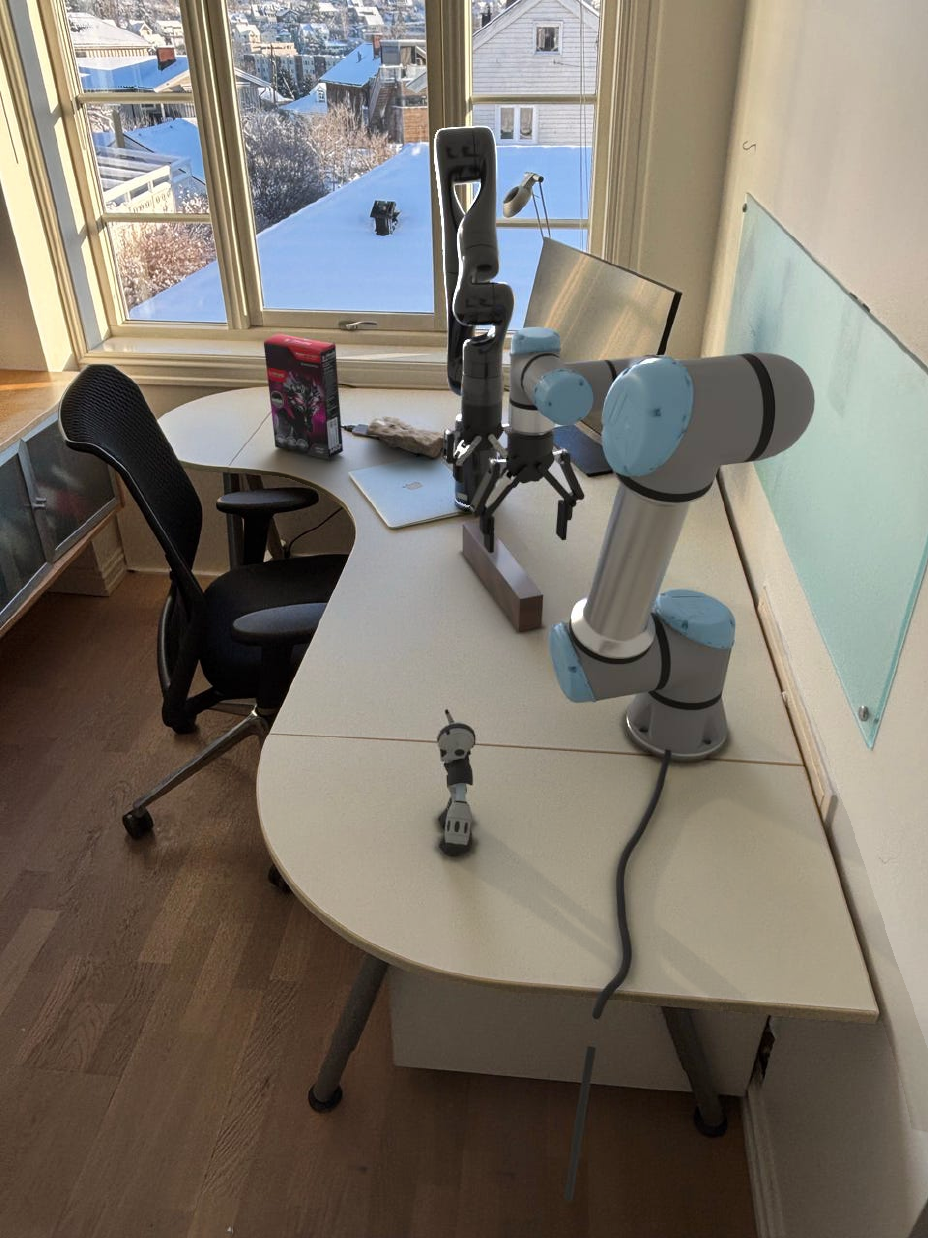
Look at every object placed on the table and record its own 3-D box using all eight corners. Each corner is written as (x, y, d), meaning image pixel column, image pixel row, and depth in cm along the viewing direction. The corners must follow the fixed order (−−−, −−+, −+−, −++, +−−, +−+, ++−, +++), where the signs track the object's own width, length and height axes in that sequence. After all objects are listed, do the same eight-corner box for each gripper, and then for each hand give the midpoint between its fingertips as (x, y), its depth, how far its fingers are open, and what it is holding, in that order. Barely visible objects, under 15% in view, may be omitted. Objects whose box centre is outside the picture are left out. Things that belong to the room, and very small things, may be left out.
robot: (478, 890, 117) (481, 774, 106) (439, 891, 117) (438, 775, 106) (469, 781, 133) (471, 671, 122) (436, 782, 133) (434, 671, 122)
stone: (350, 440, 227) (354, 417, 225) (371, 432, 241) (376, 409, 239) (429, 465, 224) (434, 441, 222) (446, 455, 237) (452, 432, 235)
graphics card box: (273, 448, 231) (260, 339, 216) (289, 438, 236) (278, 332, 221) (329, 461, 225) (320, 351, 210) (345, 451, 230) (337, 342, 215)
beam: (541, 627, 166) (543, 594, 163) (518, 632, 165) (520, 599, 161) (482, 549, 190) (483, 519, 186) (462, 553, 189) (462, 522, 185)
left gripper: (510, 385, 172) (507, 466, 181) (438, 393, 168) (438, 475, 177) (526, 399, 166) (522, 481, 175) (451, 408, 162) (451, 492, 171)
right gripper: (590, 409, 155) (580, 522, 167) (450, 428, 148) (450, 544, 160) (611, 426, 149) (599, 541, 161) (466, 446, 142) (465, 564, 154)
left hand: (480, 478), depth 176 cm, fingers open, 8 cm apart
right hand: (525, 542), depth 160 cm, fingers open, 13 cm apart
